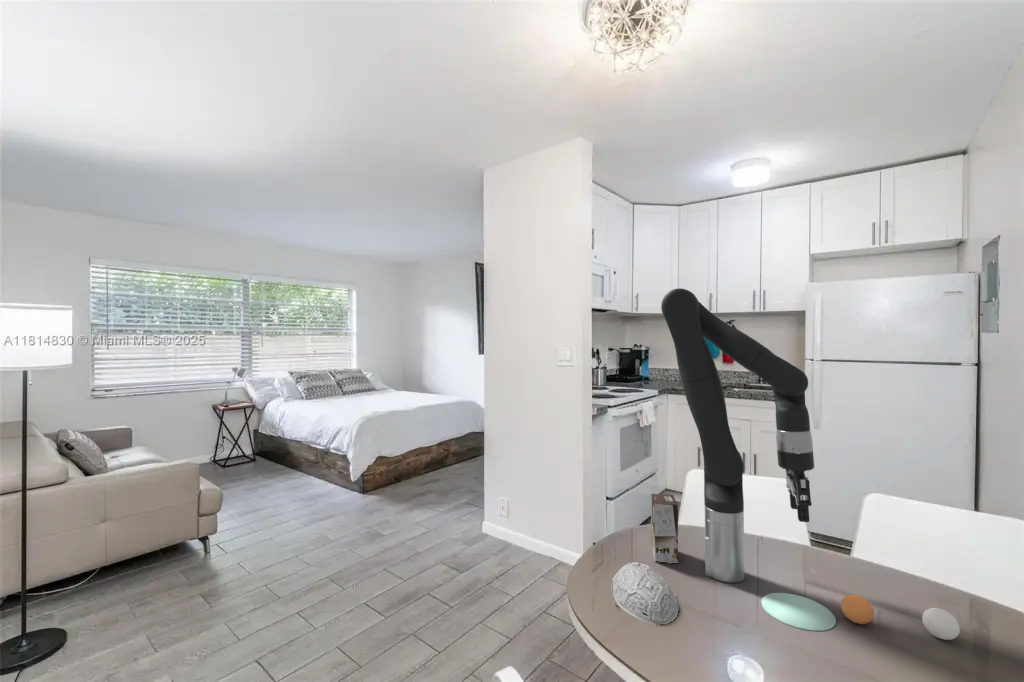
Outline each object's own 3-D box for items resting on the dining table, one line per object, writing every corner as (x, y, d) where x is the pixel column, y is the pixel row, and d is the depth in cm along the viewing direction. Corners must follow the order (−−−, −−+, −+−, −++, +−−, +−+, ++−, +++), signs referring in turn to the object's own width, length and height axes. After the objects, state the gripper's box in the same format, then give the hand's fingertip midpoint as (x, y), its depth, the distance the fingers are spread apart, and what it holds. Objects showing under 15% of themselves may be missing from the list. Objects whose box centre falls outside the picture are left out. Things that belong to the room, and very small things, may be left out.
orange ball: (845, 626, 95) (845, 600, 95) (837, 612, 100) (837, 587, 100) (877, 632, 93) (877, 605, 93) (868, 617, 98) (867, 592, 98)
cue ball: (930, 642, 90) (929, 614, 90) (917, 626, 95) (917, 599, 95) (966, 649, 88) (965, 620, 88) (951, 632, 93) (950, 605, 93)
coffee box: (679, 564, 122) (678, 504, 122) (654, 562, 124) (653, 503, 124) (674, 549, 131) (673, 493, 131) (650, 547, 133) (650, 492, 133)
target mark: (766, 622, 97) (766, 621, 97) (757, 588, 110) (757, 588, 110) (844, 637, 92) (844, 636, 92) (825, 600, 105) (825, 599, 105)
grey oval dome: (620, 626, 96) (622, 593, 96) (602, 572, 121) (604, 547, 121) (694, 635, 95) (696, 602, 95) (660, 579, 120) (663, 554, 120)
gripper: (772, 441, 119) (776, 504, 118) (782, 454, 105) (787, 524, 105) (805, 442, 116) (810, 506, 116) (820, 455, 103) (826, 527, 102)
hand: (799, 514), depth 110 cm, fingers open, 8 cm apart
